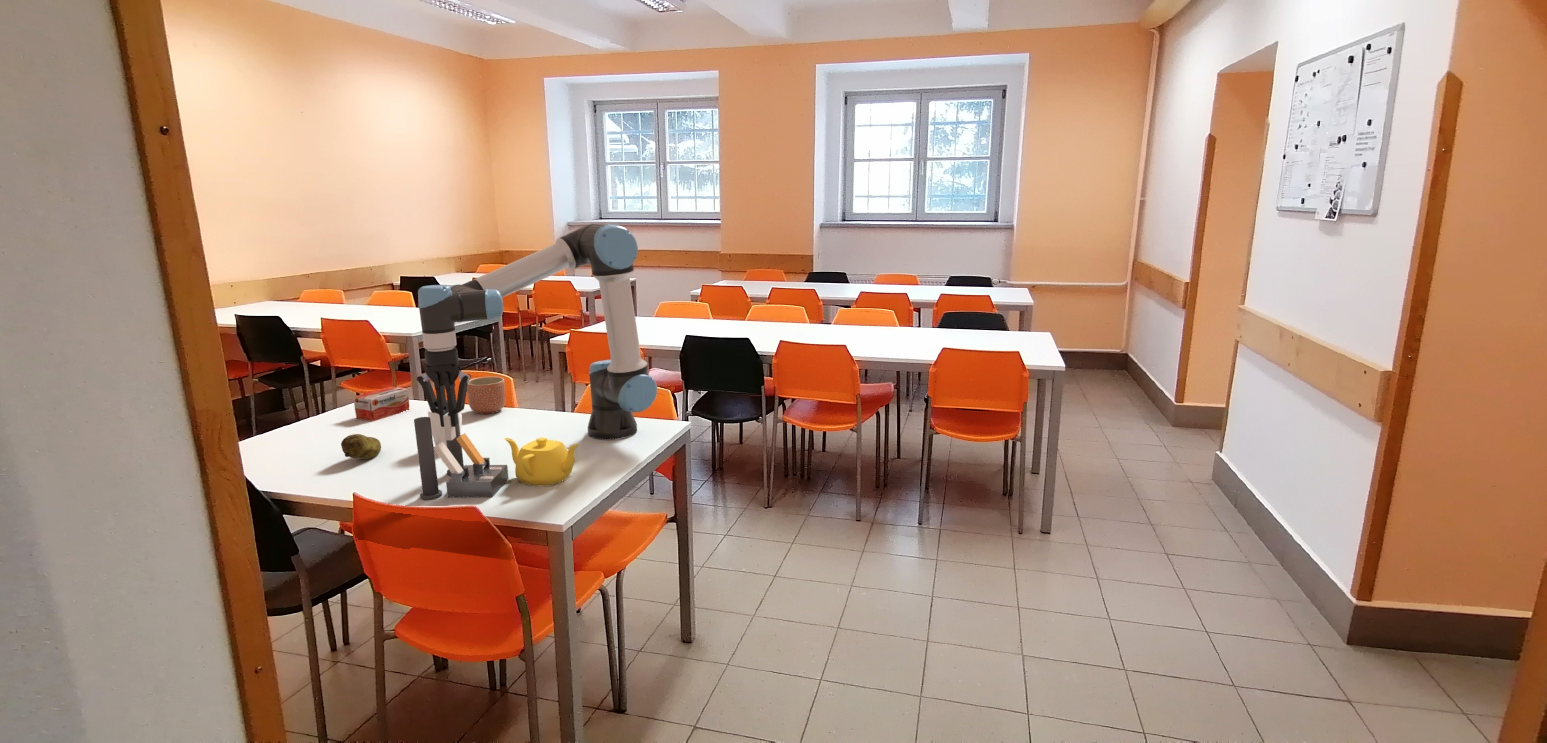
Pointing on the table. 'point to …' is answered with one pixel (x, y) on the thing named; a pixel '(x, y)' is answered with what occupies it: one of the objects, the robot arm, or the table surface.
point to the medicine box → (381, 403)
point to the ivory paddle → (448, 459)
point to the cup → (436, 427)
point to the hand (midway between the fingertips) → (451, 438)
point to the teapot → (542, 461)
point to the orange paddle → (471, 450)
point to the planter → (486, 394)
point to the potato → (360, 446)
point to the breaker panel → (477, 480)
